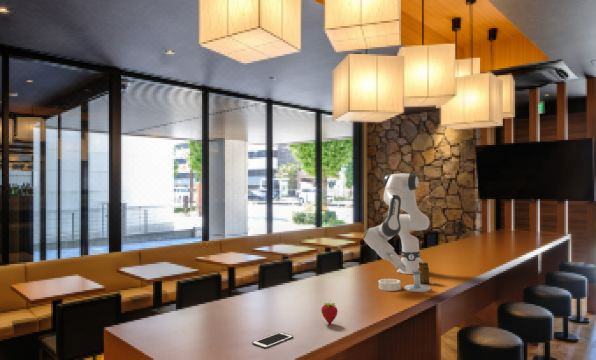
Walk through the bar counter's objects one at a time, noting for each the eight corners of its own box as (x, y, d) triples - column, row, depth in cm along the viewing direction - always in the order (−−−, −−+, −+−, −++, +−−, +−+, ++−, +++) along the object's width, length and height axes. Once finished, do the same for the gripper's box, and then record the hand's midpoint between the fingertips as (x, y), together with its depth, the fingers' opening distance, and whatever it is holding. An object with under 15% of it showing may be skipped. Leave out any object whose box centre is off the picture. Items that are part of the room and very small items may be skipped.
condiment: (422, 281, 239) (421, 261, 240) (435, 283, 233) (434, 262, 233) (415, 283, 235) (414, 262, 235) (428, 285, 228) (427, 264, 229)
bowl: (378, 285, 231) (378, 278, 231) (400, 286, 228) (400, 279, 228) (378, 290, 219) (378, 283, 219) (400, 291, 217) (400, 283, 217)
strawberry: (328, 320, 170) (327, 296, 170) (341, 324, 164) (340, 299, 164) (318, 323, 166) (317, 299, 166) (331, 327, 160) (330, 302, 160)
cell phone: (251, 345, 145) (250, 342, 145) (280, 334, 155) (280, 331, 155) (265, 350, 139) (265, 347, 139) (294, 338, 150) (294, 335, 150)
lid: (403, 286, 229) (402, 268, 229) (429, 286, 226) (428, 268, 226) (405, 292, 215) (404, 273, 215) (432, 292, 212) (431, 273, 213)
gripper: (390, 250, 214) (410, 269, 212) (390, 245, 234) (408, 262, 232) (382, 258, 215) (402, 277, 212) (383, 253, 235) (400, 270, 232)
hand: (405, 269), depth 222 cm, fingers open, 8 cm apart
